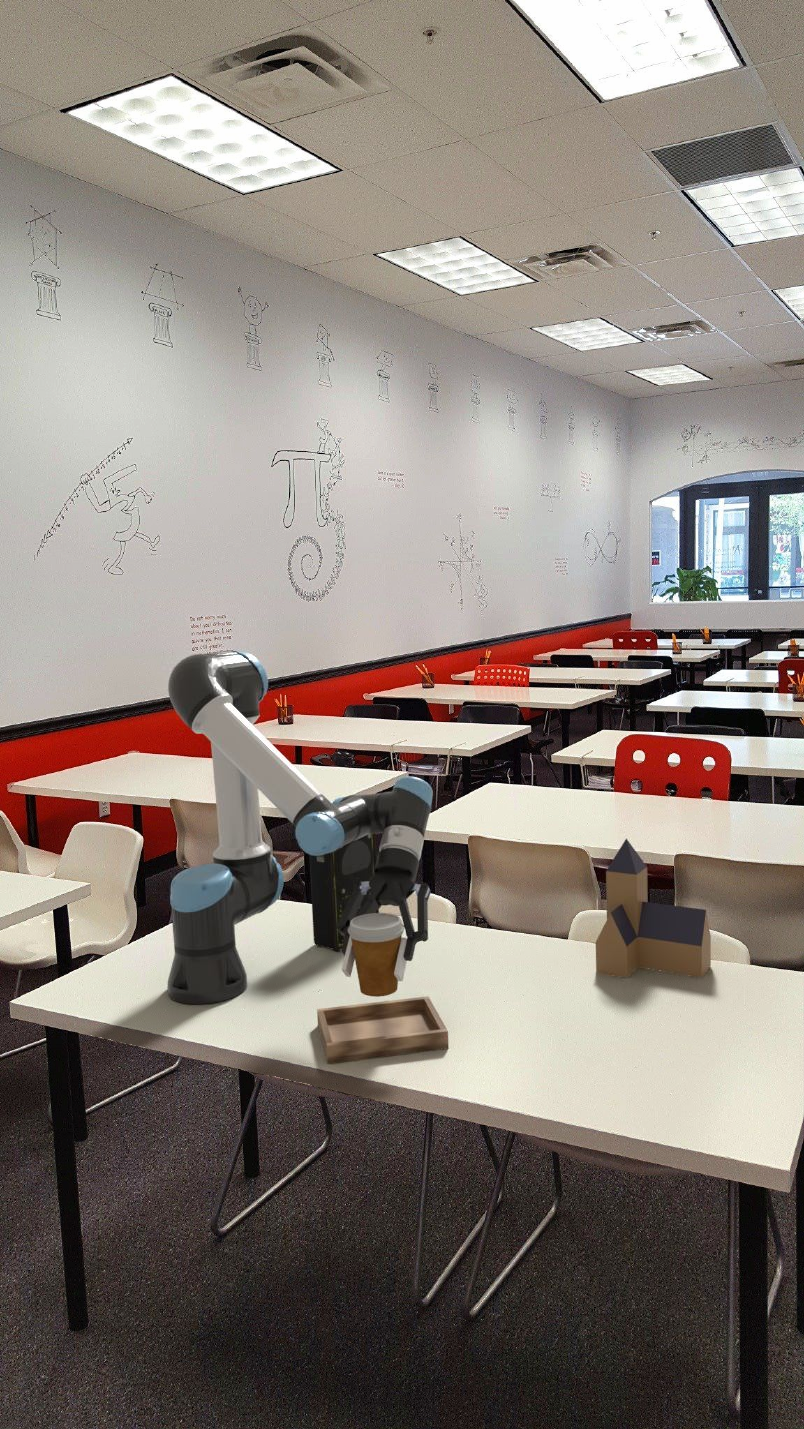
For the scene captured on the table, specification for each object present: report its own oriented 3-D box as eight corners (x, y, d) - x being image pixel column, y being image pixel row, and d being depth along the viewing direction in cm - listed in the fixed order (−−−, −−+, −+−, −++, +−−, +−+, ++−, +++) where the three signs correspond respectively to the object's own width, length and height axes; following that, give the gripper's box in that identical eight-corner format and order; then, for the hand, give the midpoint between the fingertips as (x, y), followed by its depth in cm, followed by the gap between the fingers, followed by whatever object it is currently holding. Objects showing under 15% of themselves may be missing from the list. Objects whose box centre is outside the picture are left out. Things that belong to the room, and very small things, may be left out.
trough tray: (327, 1063, 161) (326, 1046, 161) (317, 1025, 176) (317, 1009, 176) (448, 1048, 165) (447, 1031, 165) (429, 1012, 180) (428, 996, 179)
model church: (618, 952, 206) (616, 833, 203) (710, 967, 196) (710, 842, 193) (596, 973, 195) (593, 847, 192) (692, 989, 185) (691, 857, 182)
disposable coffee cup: (418, 987, 170) (415, 918, 168) (379, 1005, 163) (375, 934, 161) (378, 974, 176) (375, 908, 175) (339, 991, 169) (335, 923, 168)
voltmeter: (338, 954, 211) (333, 838, 208) (308, 946, 216) (302, 833, 213) (384, 932, 223) (379, 822, 220) (354, 926, 228) (349, 818, 225)
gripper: (337, 843, 180) (305, 961, 167) (451, 847, 173) (427, 970, 160) (350, 864, 186) (320, 979, 172) (461, 869, 179) (438, 990, 165)
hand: (371, 975), depth 166 cm, fingers closed on disposable coffee cup, 9 cm apart
